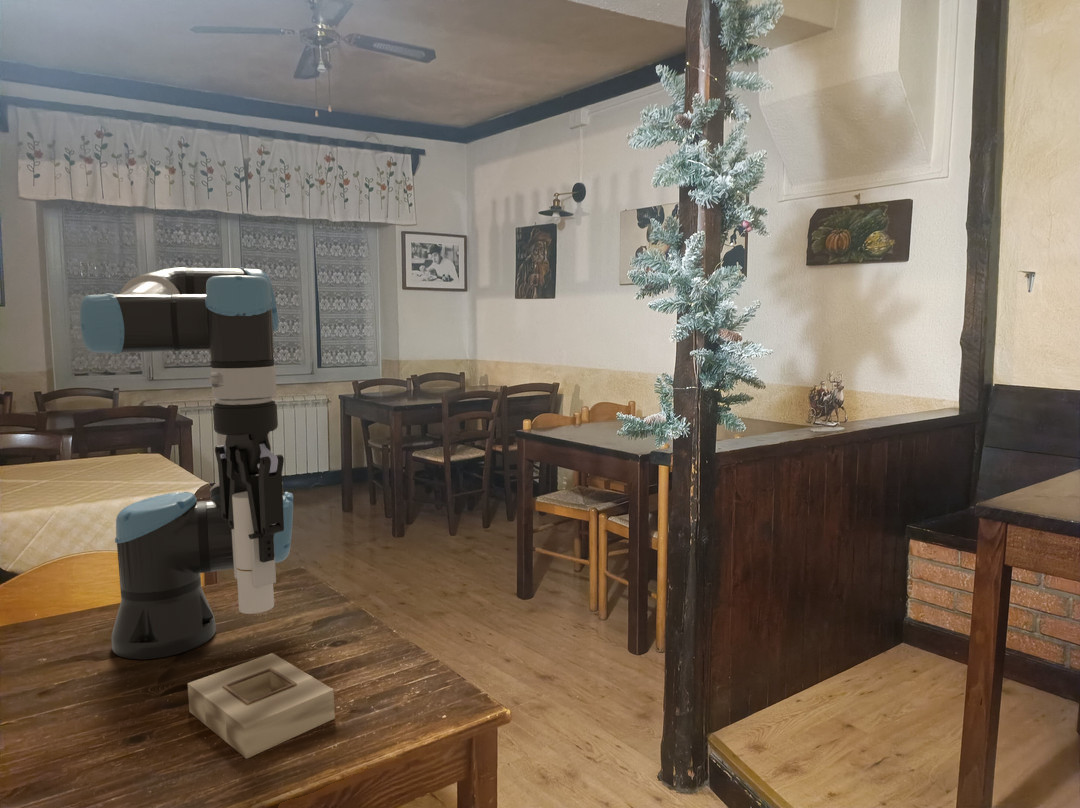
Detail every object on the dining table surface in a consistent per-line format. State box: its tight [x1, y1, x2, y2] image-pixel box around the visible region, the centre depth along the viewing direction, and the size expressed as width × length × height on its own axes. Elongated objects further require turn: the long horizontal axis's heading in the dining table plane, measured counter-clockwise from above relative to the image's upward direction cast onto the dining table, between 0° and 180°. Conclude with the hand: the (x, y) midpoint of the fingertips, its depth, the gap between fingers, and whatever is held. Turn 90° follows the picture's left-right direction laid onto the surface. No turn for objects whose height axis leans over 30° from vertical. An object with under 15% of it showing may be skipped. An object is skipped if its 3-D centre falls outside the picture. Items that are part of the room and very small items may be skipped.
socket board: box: [187, 652, 336, 760], centre depth 100 cm, size 16×12×4 cm
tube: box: [232, 491, 275, 615], centre depth 97 cm, size 4×4×15 cm
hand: (255, 579), depth 98 cm, fingers closed on tube, 4 cm apart
